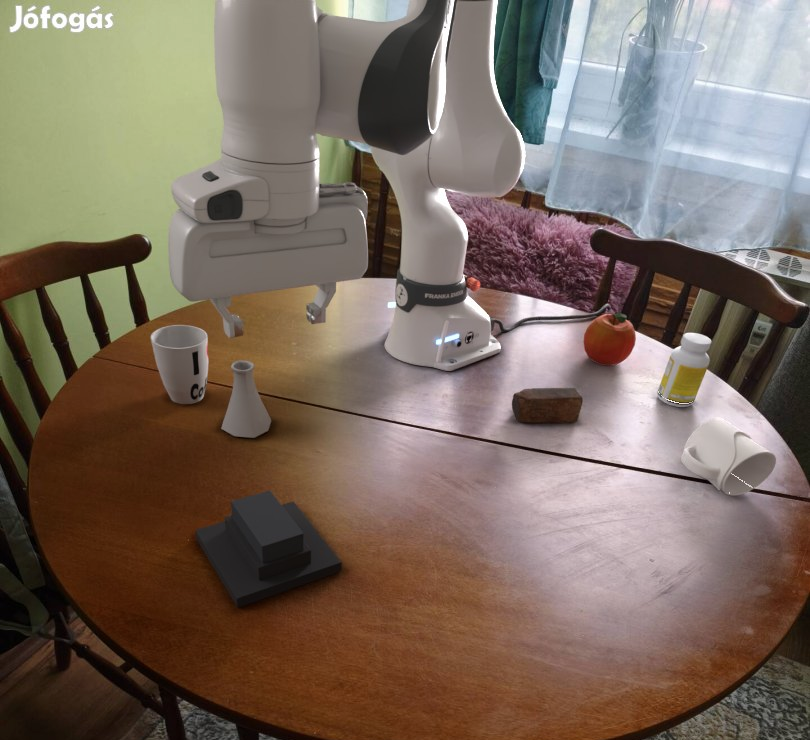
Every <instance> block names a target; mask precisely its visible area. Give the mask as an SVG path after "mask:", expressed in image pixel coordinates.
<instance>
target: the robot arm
mask: <svg viewBox="0 0 810 740" xmlns="http://www.w3.org/2000/svg"><path fill="white" fill-rule="evenodd" d="M497 7H498V0H408V4H407V10H406V15H405V16H403V17H401V18H398V19H395V20H388V21H375V20H367V19H360V18H353V17H347V16H339V15H334V14H332V13H327V12H323V9H321V8H320V7H318V6H317V1H316V0H215V4H214V21H213V22H214V23H213V24H214V25H213V26H214V27H213V28H214V29H213V47H214V52H213V53H214V71H215V72H214V73H215V86H216V87H215V88H216V89H215V90H216V96H217V98H218V101H219V104H220V107H221V110H222V111H221V112H222V121H223V123H222V125H223V126H222V134H221V139H220V155H221V156H220V157H221V158H219V159H217V160H215V161H213V162H211V163H209V164H207V165H205V166H203V167H199V168H198V169H196V170H193V171H190V172H189V173H185V174H183V175H180V176H179V177H177V178H175V179H174V180H173V181H172V182H171V185H170V190H171V195H172V199H173V201H174V203H175V204H176V205H177V206H178V208H179V209H177V210H176V211H175V212H174V213H173V214H172V216H171V218H170V221H169V225H168V233H167V235H168V236H167V237H168V238H167V239H168V240H167V246H168V248H167V249H168V251H167V252H168V268H169V277H170V282H171V284H172V286H173V287H174V288H175V290H176V291H177V292H178V293H179V294H180V295H181V296H182V297H184V299H186V300H187V301H189V302H202V301H208V300H210V302H211V304H212V305H213V307H214V308H215V310H217V312H218V314H219V315H220V316H221V318H222V325H223V331H224V333H225V335H226V336H227V337H228V339H233V338H238V337H239V338H240V337H243V336H244V334H245V333H244V330H243V328H244V321H243V319H242V318H241V317H240V316H239V315H237V314H236V313H233V314H231V313H230V311H229V310H228V308H229V307H231V306H232V297H236V296H238V297H239V296H245V295H252V294H258V293H265V292H273V291H274V292H275V291H281V290H288V289H289V290H290V289H297V288H304V287H311V286H316V287H318V290H317V292H316V295H315V297H314V299H313V301H312V302H309V303H306V305H305V306H306V311H307V312H306V315H305V316H306V320H307V321H308V322H309V323H310V324H311V325H317V324H318V325H319V324H324V323H326V319H327V317H326V316H327V308H328V307H329V305H330V303H331V301H332V299H333V298H334V296H335V295H336V292H337V283H340V282H348V281H355V280H361V279H362V278H363V276H364V275H365V273H366V272H367V270H368V266H369V248H368V233H367V225H366V220H367V218H368V203H369V202H368V201H369V200H368V196H367V194H366V192H365V191H364V190H363V188H361V187H359V186H357V184H356V183H355V182H352V181H344V182H341V183H333V182H332V183H331V182H330V183H329V182H328V183H327V182H326V183H320V168H321V167H320V163H321V162H320V161H321V160H320V158H321V157H320V154H321V153H320V152H321V151H320V146H319V141H318V138H317V137H318V136H317V135H320V136H322V137H328V138H333V139H339V140H345V141H349V142H354V143H360V144H365V145H368V146H370V152H371V156H372V158H373V161H374V163H375V164H376V166H377V167H378V168H379V169H380V171H381V172H382V173H383V174H384V176H385V178H386V180H387V181H388V183H389V184H390V187H391V190H392V191H393V194H394V196H395V199H396V202H397V206H398V210H399V214H400V221H401V222H400V223H401V245H400V246H401V249H400V264H399V268H398V269H397V272H396V279H395V293H394V294H395V295H394V296H395V298H394V299H395V301H390V302H388V303H387V308H394V311H393V317H392V321H391V324H390V328H389V330H388V334H387V336H386V339H385V341H384V349H385V351H386V352H387V353H388V355H390V356H391V357H393V358H394V359H397V360H399V361H401V362H404V363H407V364H410V365H415V366H419V367H420V366H421V367H430V368H435V369H439V370H441V371H446V372H451V371H455V370H457V369H460V368H462V367H466V366H468V365H471V364H474V363H476V362H478V361H481V360H484V359H486V358H490V357H492V356H494V355H498V354H500V353H501V343H500V342H499V340H498V339H496V337H494V336H493V335H492V331H494V327H495V324H497V325H498V327H499V330H500V331H501V332H503V333H507V332H510V331H512V330H514V329H517V328H518V327H519V326H520V325H522V324H524V323H527V322H534V321H562V320H565V321H566V320H580V319H588V318H595V317H597V316H600V315H602V313H604V311H605V310H606V309H607V310H608V311H611V310H612V308H611V305H610V304H608V303H605V304H604V305H603V306H602V307H601V308H600V309H599V310H598V311H595V312H590V313H585V314H573V315H572V314H571V315H560V316H559V315H547V316H545V315H542V316H541V315H540V316H530V317H525V318H522V319H520V320H518V321H517V322H515V323H514V324H513V325H511V326H510V327H504V324H503V322H502V320H501V319H498V318H496V317H495V318H494V317H492V316H490V315H489V314H487V312H486V311H485V310H484V309H483V308H482V306H480V305H479V304H478V303H477V302H476V301H475V300H474V299H472V297H470V295H469V293H468V289H469V290H470V291H472V292H474V293H476V292H478V291H479V290H480V288H481V282H480V281H479V280H478V279H475V278H474V277H468V276H467V275H465V274H464V269H465V262H466V255H467V247H468V243H469V235H468V229H467V226H466V223H465V222H464V221H463V219H462V218H461V217H460V215H458V214H457V213H456V211H454V209H453V208H452V207H451V205H450V203H449V201H448V199H447V196H446V191H449V192H453V193H456V194H460V195H465V196H468V197H472V198H501V197H504V196H505V195H507V194H508V193H509V192H510V191H512V189H513V188H514V187H515V186H516V184H517V182H518V181H519V179H521V178H520V177H521V175H522V173H523V169H524V166H525V159H526V149H525V143H524V140H523V137H522V135H521V132H520V130H519V129H518V128H517V127H516V126H515V125H514V123H513V122H512V121H511V119H510V117H509V116H508V113H507V112H506V110H505V108H504V106H503V103H502V100H501V98H500V94H499V91H498V88H497V84H496V78H495V70H494V45H495V32H496V31H495V28H496V17H497Z"/></svg>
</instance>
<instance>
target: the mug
mask: <svg viewBox="0 0 810 740" xmlns="http://www.w3.org/2000/svg"><path fill="white" fill-rule="evenodd" d="M680 459H681V460H680V461H681V462H682V464H683V466H684V467H685V468H686V469H688V470H689V471H690V472H692V473H693V474H695V475H697V476H699V477H702V478H704V479H706V480H707V481H708V482H709V483H711V485H712V486H714V487H715V488H716V489H717V490H719V491H723V492H724V494H726V495H728V496H732V497H733V496H734V497H735V496H741V495H744V494H746V493H748V492H751V491H752V490H755V488H754V487H756V488H757V487H759V486H760V485H761V484H762V483H764V482H765V481H767V479H768V478H769V476H770V475H771V474H772V473H773V471H774V469H775V467H776V464H777V457H776V455H775V454H774V453H772V452H771V451H770V450H768V449H767V448H765V447H764V446H762V445H760V444H758V443H757V442H755V440H753V438H752V437H751V436H750V435H749V434H747V433H746V432H744V431H743V430H742V429H740V428H738V427H737V426H735V425H734V424H732V423H731V422H729V421H727V420H726V419H724V418H722V417H714V418H710V419H708V420H706V421H704V422H703V423H701V424H700V425H699V426H698V427H697V428H695V430H694V431H693V432H692V433H691V434H690V436H689V437H688V439H686V442H685V445H684V447H683V453H682V455H681V457H680ZM731 473H732V474H734V475H735V476H737V477H739V479H741V480H743V482H742V481H741V480H739V479H738V478H737V477H735V476H734V475H732V474H731ZM744 481H745V483H747V484H749V485H751V486H752V487H753V488H751V487H749V486H748V485H746V484H745V483H744ZM729 492H730V494H729Z"/></svg>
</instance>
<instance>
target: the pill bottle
mask: <svg viewBox="0 0 810 740" xmlns="http://www.w3.org/2000/svg"><path fill="white" fill-rule="evenodd" d="M682 335H683V336H682V338H681V340H680V346H677V347H675V348H673V350H672V351H671V353H670V356H669V358H668V361H667V364H666V367H665V369H664V372H663V375H662V378H661V381H660V384H659V387H658V390H657V398H658V399H659V400H660V401H661V402H663V403H665V405H666V404H667V405H669V406H672V407H677V408H686V407H689V406H692V405H693V404H694V402H695V400H696V397H697V395H698V392H699V390H700V387H701V384H702V383H703V380H704V378H705V375H706V373H707V370H708V367H709V365H710V362H711V359H710V356H709V354H708V353H707V352H708V351H709V350H710V348H711V345H712V339H711V338H709V337H708V336H707V335H704V334H701V333H697V332H686V333H684V334H682ZM658 391H659V393H660V394H659V393H658ZM661 395H662V396H663V397H664V398H663V397H662V396H661ZM665 398H666V399H669V400H672V401H675V402H679V403H689V402H692V401H693V402H692V403H689V404H679V403H674V402H671V401H668V400H666V399H665Z"/></svg>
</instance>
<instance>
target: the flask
mask: <svg viewBox="0 0 810 740" xmlns="http://www.w3.org/2000/svg"><path fill="white" fill-rule="evenodd" d="M230 369H231V371H232V373H233V382H232V383H233V384H232V392H231V395H230V398H229V402H228V406H227V408H226V412H225V415H224V417H223V422H222V425H221V428H220V429H221V430H223V431H225V432H226V433H228V434H230V435H231V436H233V437H237V438H238V437H240V438H249V439H251V438H252V439H255V438H257V437H260V436H261V435H263V434H264V433H266V432H269V429H270V427H271V423H272V419H271V417H270V415H269V412H268V411H267V409H266V407H265V405H264V403H263V400H262V398H261V396H260V394H259V391H258V390H257V387H256V383H255V380H254V379H255V378H254V369H255V363H253V362H252V361H249V360H242V359H238V360H237V361H234V362H232V363H231V366H230Z"/></svg>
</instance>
